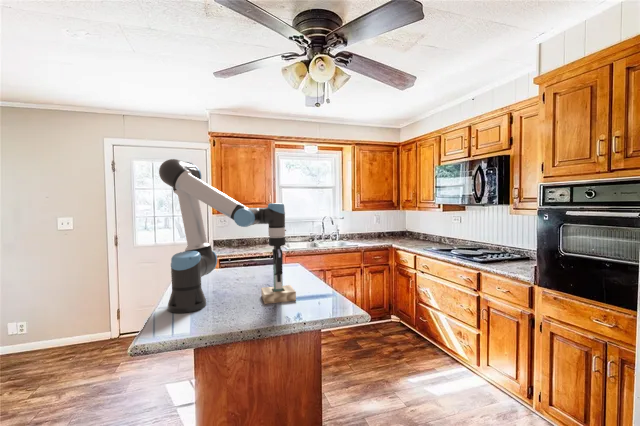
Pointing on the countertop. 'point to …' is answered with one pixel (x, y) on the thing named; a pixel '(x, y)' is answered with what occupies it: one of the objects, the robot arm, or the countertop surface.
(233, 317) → the countertop surface
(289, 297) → the socket block
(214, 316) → the countertop surface
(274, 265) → the dowel
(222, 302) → the countertop surface
